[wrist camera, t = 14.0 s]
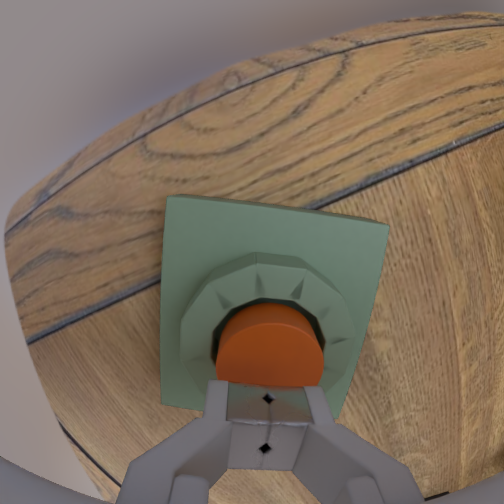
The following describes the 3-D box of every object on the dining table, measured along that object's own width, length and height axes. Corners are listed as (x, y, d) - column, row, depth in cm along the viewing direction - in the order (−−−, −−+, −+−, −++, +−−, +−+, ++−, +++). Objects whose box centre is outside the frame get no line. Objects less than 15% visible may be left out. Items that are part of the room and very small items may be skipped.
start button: (216, 378, 12) (212, 405, 10) (224, 296, 11) (220, 316, 9) (304, 386, 12) (311, 412, 10) (323, 306, 11) (335, 327, 9)
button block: (169, 380, 16) (152, 428, 12) (178, 193, 14) (152, 198, 10) (329, 395, 16) (346, 442, 12) (371, 218, 14) (411, 232, 10)
